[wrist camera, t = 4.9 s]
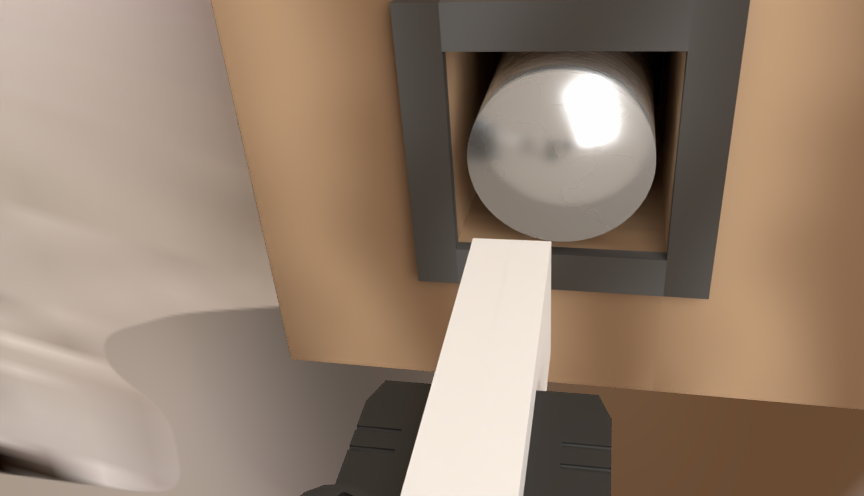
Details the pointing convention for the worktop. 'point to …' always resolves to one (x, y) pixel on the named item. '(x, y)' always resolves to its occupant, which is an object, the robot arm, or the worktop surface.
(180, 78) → the worktop surface
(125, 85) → the worktop surface
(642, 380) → the socket block
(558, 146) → the peg
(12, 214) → the worktop surface
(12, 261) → the worktop surface
